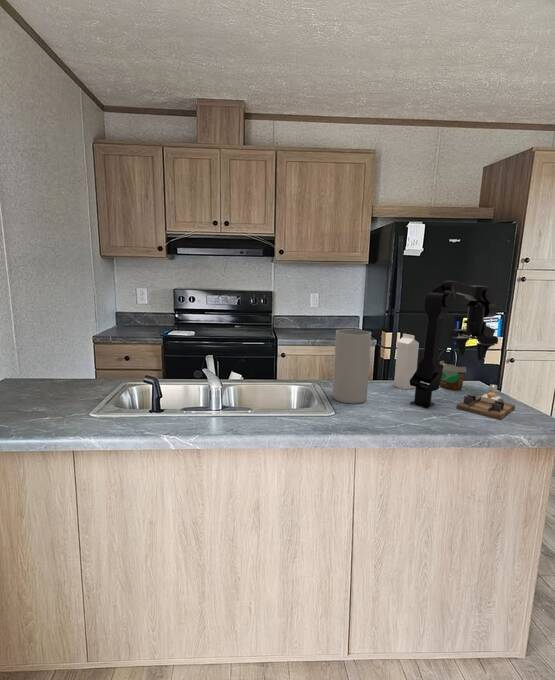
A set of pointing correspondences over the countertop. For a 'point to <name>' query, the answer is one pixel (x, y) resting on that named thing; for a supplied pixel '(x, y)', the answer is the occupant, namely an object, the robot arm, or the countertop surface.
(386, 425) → the countertop surface
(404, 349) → the milk
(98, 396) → the countertop surface
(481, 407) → the stand
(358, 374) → the cylinder vase
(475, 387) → the countertop surface
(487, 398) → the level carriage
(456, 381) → the food container
